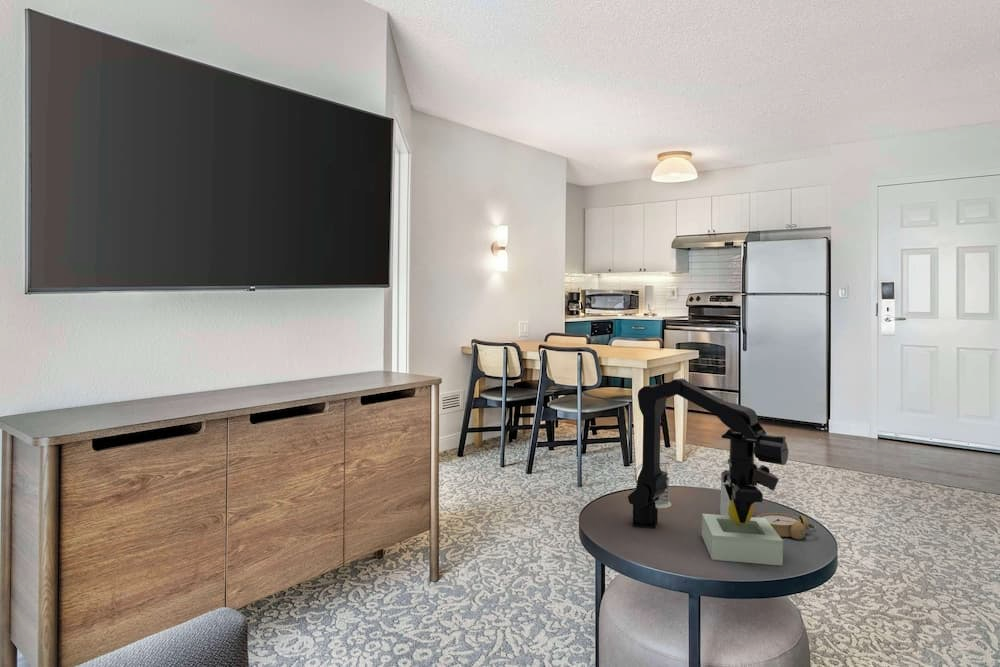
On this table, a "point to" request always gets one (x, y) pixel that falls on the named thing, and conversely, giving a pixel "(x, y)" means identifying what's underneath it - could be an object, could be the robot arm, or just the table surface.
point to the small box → (726, 500)
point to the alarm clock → (789, 525)
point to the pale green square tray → (742, 540)
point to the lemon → (734, 515)
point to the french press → (663, 500)
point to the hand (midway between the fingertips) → (739, 518)
